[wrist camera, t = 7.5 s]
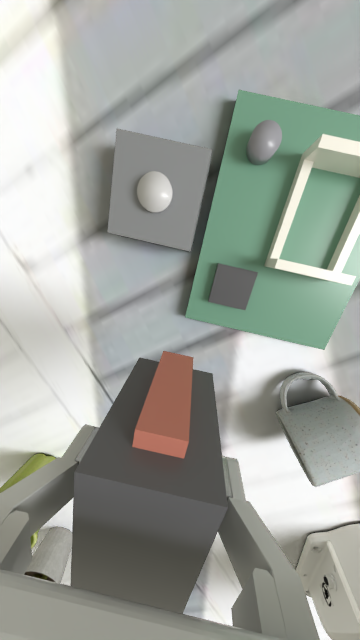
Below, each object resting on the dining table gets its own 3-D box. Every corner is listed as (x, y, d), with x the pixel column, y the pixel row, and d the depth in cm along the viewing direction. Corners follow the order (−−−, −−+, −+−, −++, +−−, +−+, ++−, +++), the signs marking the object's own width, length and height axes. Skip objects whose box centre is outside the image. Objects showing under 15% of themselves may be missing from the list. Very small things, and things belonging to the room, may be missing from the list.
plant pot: (85, 475, 34) (49, 544, 26) (47, 491, 37) (3, 559, 28) (48, 437, 32) (-3, 499, 24) (10, 456, 35) (-48, 519, 26)
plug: (189, 453, 13) (181, 615, 7) (127, 439, 13) (70, 588, 7) (215, 362, 11) (235, 489, 5) (141, 346, 11) (75, 452, 5)
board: (318, 345, 24) (342, 363, 20) (185, 314, 24) (183, 326, 20) (418, 139, 17) (484, 105, 13) (236, 100, 18) (247, 55, 14)
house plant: (37, 555, 44) (-51, 720, 28) (13, 513, 40) (-106, 678, 24) (99, 558, 42) (40, 735, 26) (80, 514, 38) (-2, 694, 22)
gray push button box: (190, 251, 22) (189, 251, 18) (119, 235, 22) (104, 231, 18) (210, 164, 19) (212, 145, 16) (128, 146, 19) (113, 123, 16)
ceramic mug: (349, 423, 27) (406, 486, 19) (287, 441, 28) (318, 504, 21) (325, 357, 24) (380, 400, 17) (260, 381, 26) (284, 429, 19)
